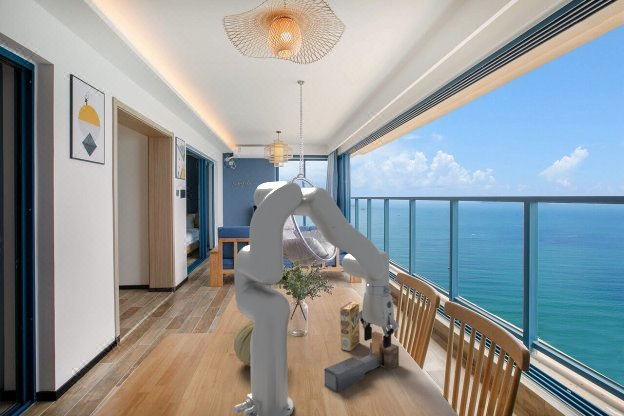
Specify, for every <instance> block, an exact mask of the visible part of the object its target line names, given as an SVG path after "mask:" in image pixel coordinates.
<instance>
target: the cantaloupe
mask: <svg viewBox="0 0 624 416" xmlns="http://www.w3.org/2000/svg"><path fill="white" fill-rule="evenodd" d="M253 328H254V322H253V321H251V320H250V321H248V322H246V323H244V325H242V326H241V327H240V328H239V329H238V331H237V332H236V334H235V335H234V336H235V337H234V341H233V350H234V352H235V355H236V358H237V359H238V360H239V361H240V362H242V363H243V365H245V366H248V367H250V368H251V356H250V341H251V335H252V332H253Z"/></svg>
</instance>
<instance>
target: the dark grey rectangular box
mask: <svg viewBox="0 0 624 416" xmlns="http://www.w3.org/2000/svg"><path fill="white" fill-rule="evenodd" d="M323 371H324V387H326V388H328V389H330V390H331V391H333V392H335V393H338V392H341V391H343V390H344V389H346V388H349V387H351V386H353V385H354V384H357V383H359V382H361V381H363V380H365V379H366V377H365V375H366V374H365V362H363V361H360V360H359V359H358V358H356V357H354V356H351V357H350V358H347V359H344V360H342V361H340V362H337V363H335V364H333V365H331V366H328V367H325V368H324V370H323Z"/></svg>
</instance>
